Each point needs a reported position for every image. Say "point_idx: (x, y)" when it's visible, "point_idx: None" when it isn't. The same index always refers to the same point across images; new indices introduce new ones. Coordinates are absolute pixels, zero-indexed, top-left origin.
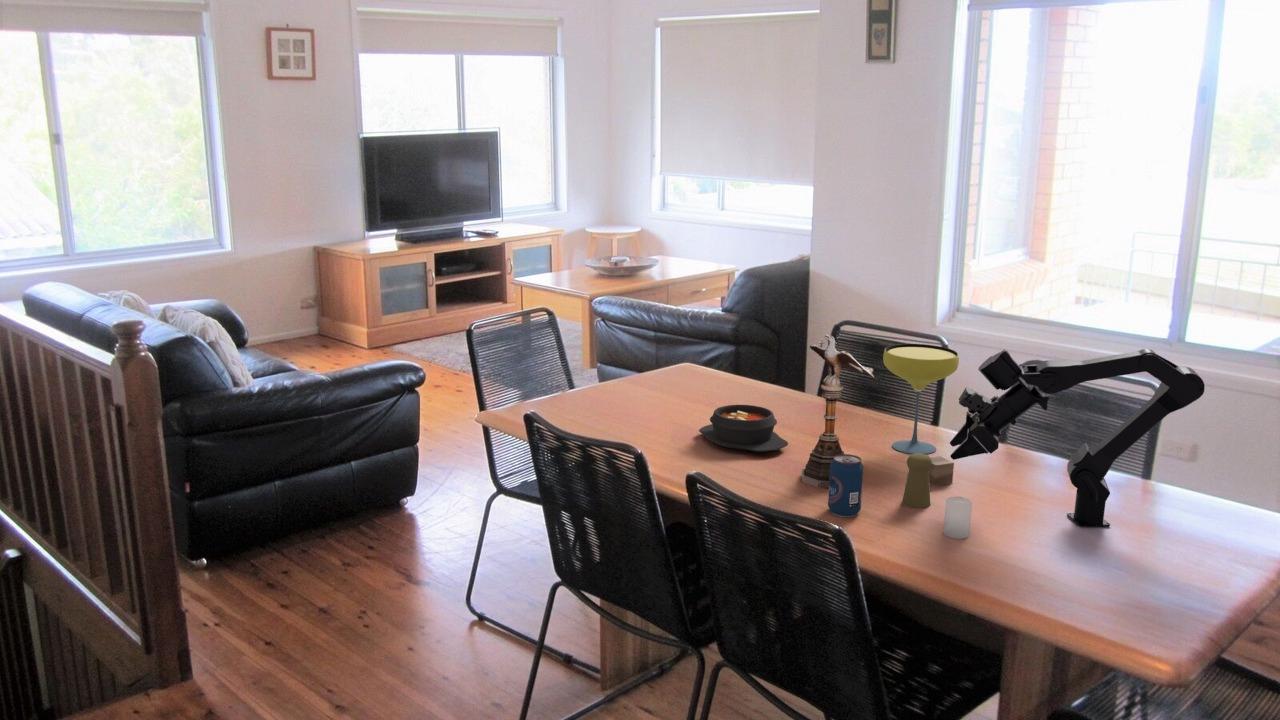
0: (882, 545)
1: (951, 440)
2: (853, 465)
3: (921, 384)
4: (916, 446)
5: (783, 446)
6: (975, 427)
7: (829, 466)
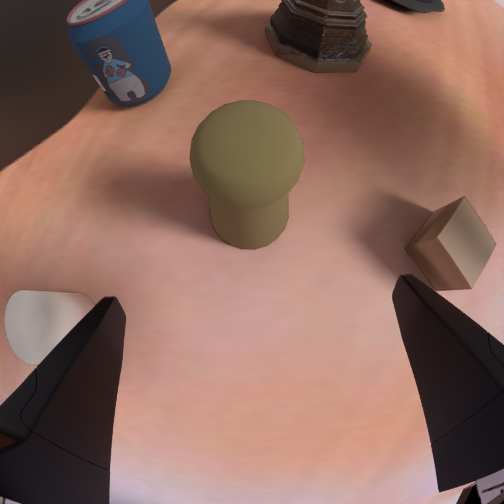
0: (16, 187)
1: (417, 283)
2: (69, 26)
3: None
4: None
5: (400, 3)
6: None
7: (285, 11)
